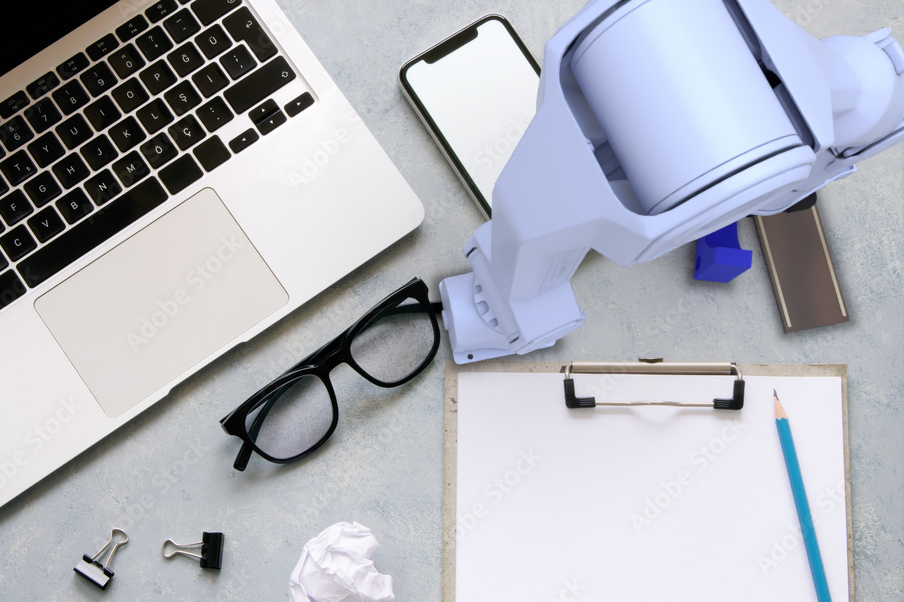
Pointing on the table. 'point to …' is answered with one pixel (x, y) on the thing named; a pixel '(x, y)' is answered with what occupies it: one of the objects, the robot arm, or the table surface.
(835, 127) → the robot arm
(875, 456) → the table surface
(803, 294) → the inlay
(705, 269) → the cable clip
